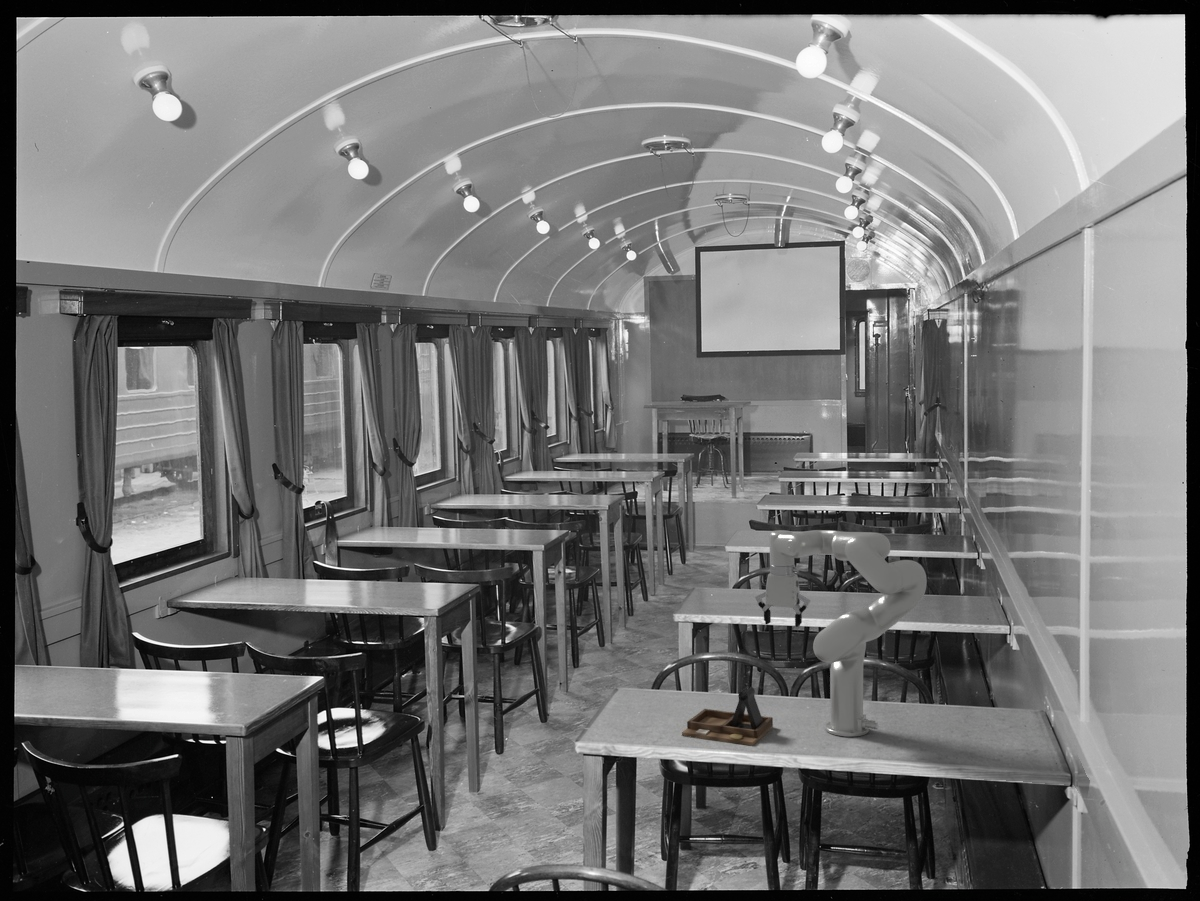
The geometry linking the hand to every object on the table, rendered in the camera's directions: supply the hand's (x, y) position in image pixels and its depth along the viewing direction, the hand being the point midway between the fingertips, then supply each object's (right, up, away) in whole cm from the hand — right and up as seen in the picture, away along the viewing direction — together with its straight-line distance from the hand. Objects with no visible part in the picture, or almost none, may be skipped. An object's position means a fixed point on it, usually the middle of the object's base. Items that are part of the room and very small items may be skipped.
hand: (782, 624), depth 333 cm
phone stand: (-13, -29, -15) cm, 35 cm away
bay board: (-19, -30, -14) cm, 38 cm away
